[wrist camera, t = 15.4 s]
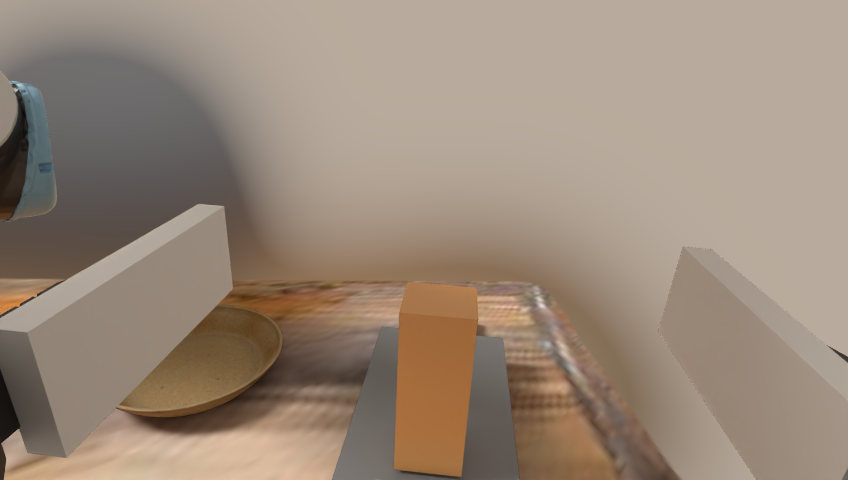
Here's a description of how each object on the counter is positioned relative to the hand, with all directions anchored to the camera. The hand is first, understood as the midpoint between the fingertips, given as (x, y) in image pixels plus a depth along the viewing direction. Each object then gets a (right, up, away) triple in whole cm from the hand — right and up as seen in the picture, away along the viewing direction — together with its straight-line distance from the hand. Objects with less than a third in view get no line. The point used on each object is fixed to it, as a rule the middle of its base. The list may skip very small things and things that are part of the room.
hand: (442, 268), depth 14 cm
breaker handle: (0, -12, +16) cm, 20 cm away
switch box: (0, -12, +25) cm, 28 cm away
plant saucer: (-20, -11, +27) cm, 35 cm away
